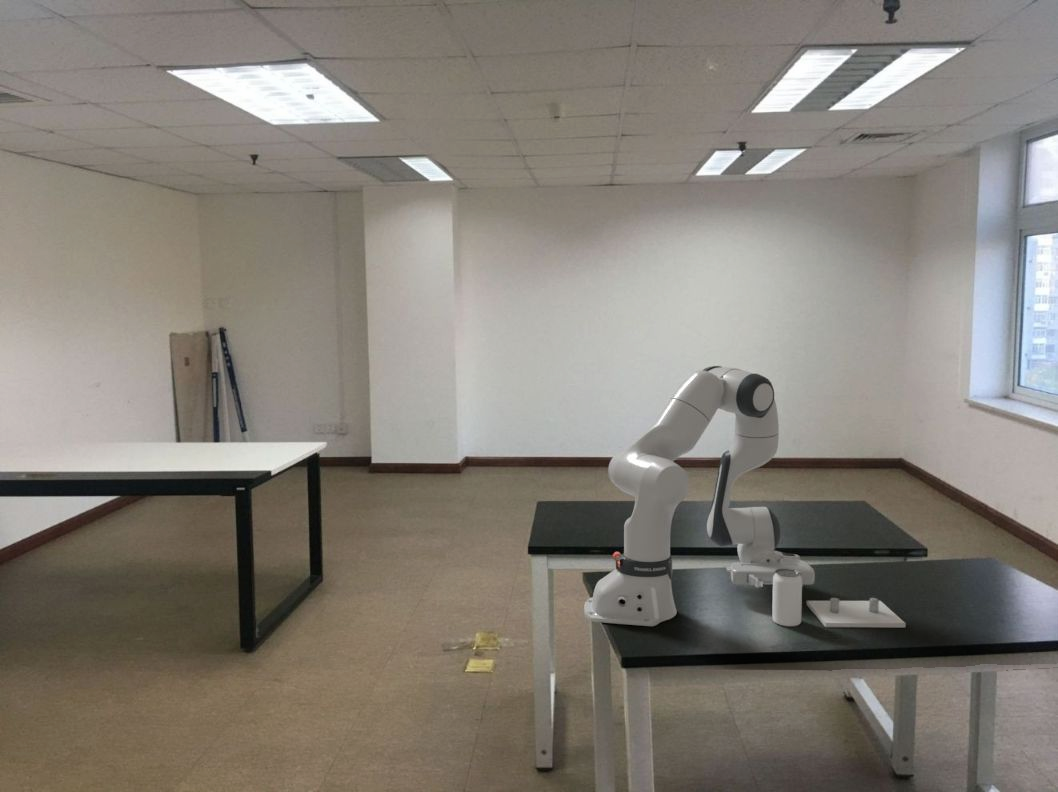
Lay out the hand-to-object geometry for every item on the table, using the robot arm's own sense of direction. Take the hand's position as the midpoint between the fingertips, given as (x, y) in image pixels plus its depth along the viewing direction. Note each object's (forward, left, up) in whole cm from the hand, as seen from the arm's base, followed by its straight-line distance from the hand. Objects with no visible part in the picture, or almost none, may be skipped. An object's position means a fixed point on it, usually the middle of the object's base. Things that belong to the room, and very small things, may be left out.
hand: (779, 584), depth 184 cm
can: (0, -6, -7) cm, 9 cm away
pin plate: (+17, -2, -7) cm, 19 cm away
